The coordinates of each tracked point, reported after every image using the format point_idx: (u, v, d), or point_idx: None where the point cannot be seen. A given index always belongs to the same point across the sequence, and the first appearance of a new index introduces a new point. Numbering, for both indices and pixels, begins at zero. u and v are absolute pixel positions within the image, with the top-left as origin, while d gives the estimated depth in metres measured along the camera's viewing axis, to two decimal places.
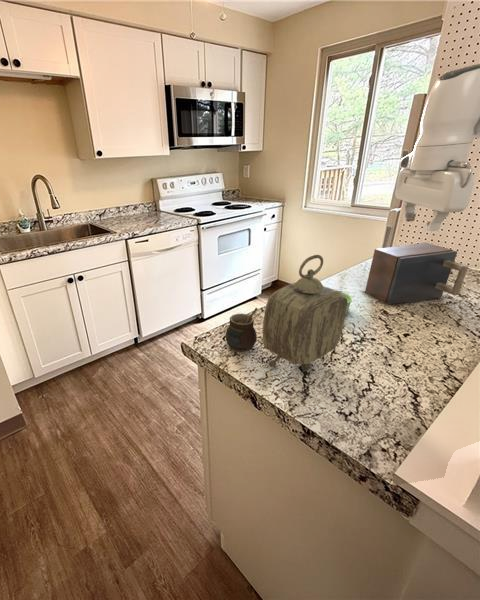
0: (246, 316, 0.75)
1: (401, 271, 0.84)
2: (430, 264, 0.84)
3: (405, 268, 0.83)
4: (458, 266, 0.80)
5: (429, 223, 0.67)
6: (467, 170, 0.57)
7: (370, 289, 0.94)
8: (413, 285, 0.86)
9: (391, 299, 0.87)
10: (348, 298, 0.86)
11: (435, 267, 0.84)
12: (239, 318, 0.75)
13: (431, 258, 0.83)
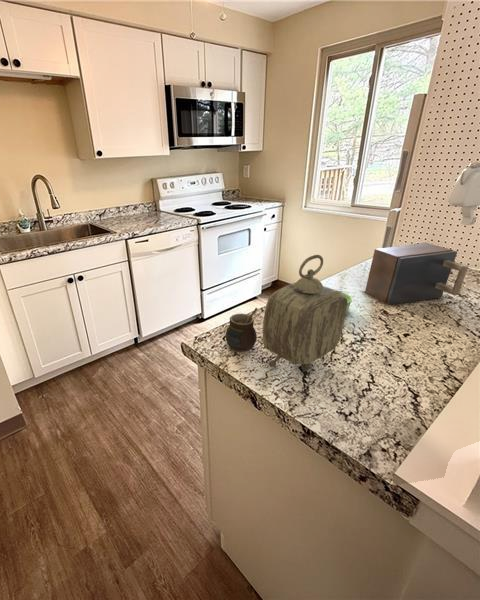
0: (246, 316, 0.75)
1: (401, 271, 0.84)
2: (430, 264, 0.84)
3: (405, 268, 0.83)
4: (458, 266, 0.80)
5: None
6: None
7: (370, 289, 0.94)
8: (413, 285, 0.86)
9: (391, 299, 0.87)
10: (348, 298, 0.86)
11: (435, 267, 0.84)
12: (239, 318, 0.75)
13: (431, 258, 0.83)
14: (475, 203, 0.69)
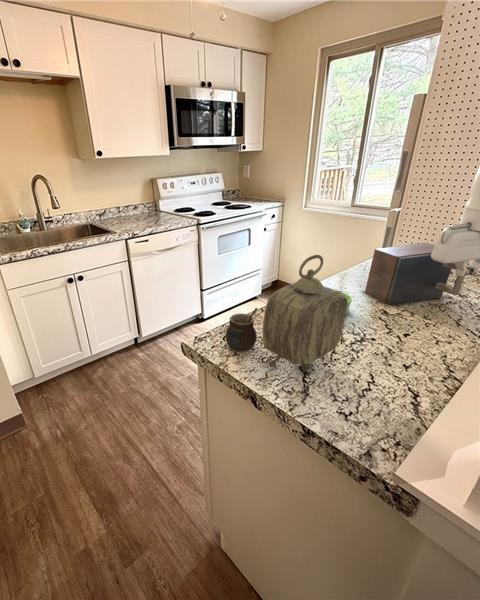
0: (246, 316, 0.75)
1: (401, 271, 0.84)
2: (430, 264, 0.84)
3: (405, 268, 0.83)
4: None
5: None
6: None
7: (370, 289, 0.94)
8: (413, 285, 0.86)
9: (391, 299, 0.87)
10: (348, 298, 0.86)
11: (435, 267, 0.84)
12: (239, 318, 0.75)
13: (431, 258, 0.83)
14: (455, 260, 0.75)
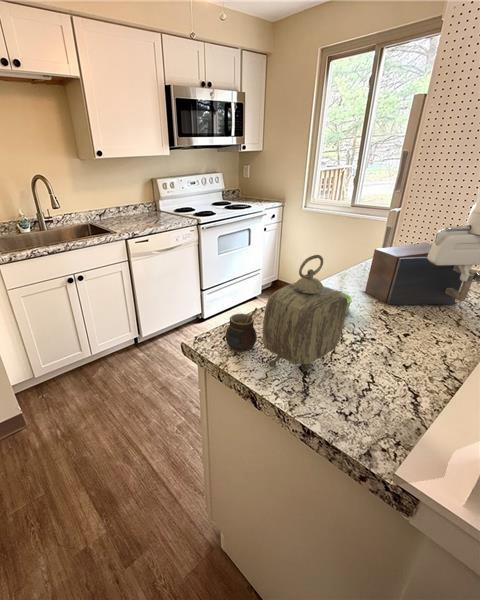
0: (246, 316, 0.75)
1: (401, 271, 0.83)
2: (437, 267, 0.82)
3: (406, 269, 0.83)
4: None
5: None
6: None
7: (370, 289, 0.94)
8: (417, 287, 0.85)
9: (391, 299, 0.87)
10: (348, 298, 0.86)
11: (443, 270, 0.82)
12: (239, 318, 0.75)
13: None
14: (450, 263, 0.74)
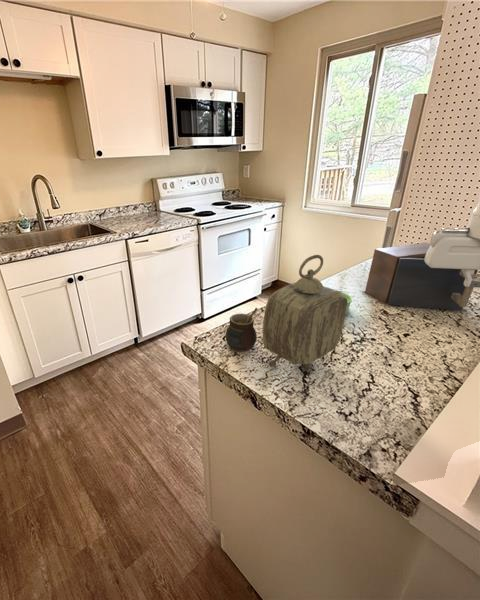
0: (246, 316, 0.75)
1: (401, 272, 0.83)
2: (442, 270, 0.80)
3: (407, 270, 0.83)
4: None
5: None
6: None
7: (370, 289, 0.94)
8: (419, 289, 0.83)
9: (390, 299, 0.87)
10: (348, 298, 0.86)
11: (448, 274, 0.79)
12: (239, 318, 0.75)
13: None
14: (445, 266, 0.72)
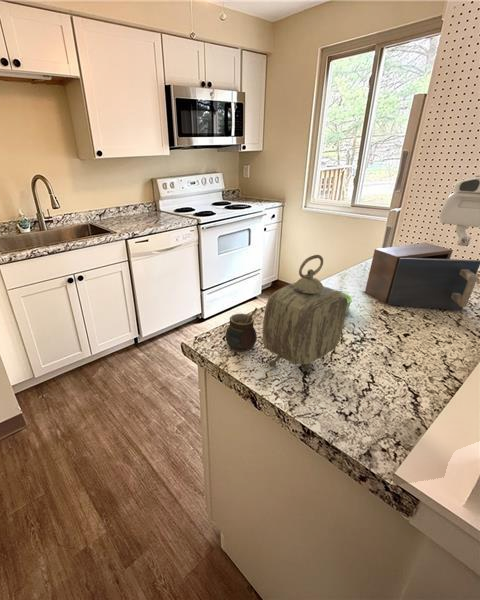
0: (246, 316, 0.75)
1: (401, 272, 0.83)
2: (442, 270, 0.80)
3: (407, 270, 0.83)
4: (467, 275, 0.75)
5: None
6: None
7: (370, 289, 0.94)
8: (419, 289, 0.83)
9: (390, 299, 0.87)
10: (348, 298, 0.86)
11: (448, 274, 0.79)
12: (239, 318, 0.75)
13: (441, 264, 0.79)
14: None
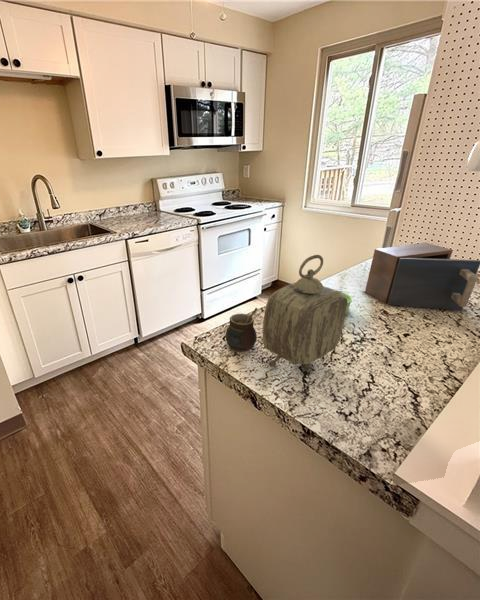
0: (246, 316, 0.75)
1: (401, 272, 0.83)
2: (442, 270, 0.80)
3: (407, 270, 0.83)
4: (467, 275, 0.75)
5: None
6: None
7: (370, 289, 0.94)
8: (419, 289, 0.83)
9: (390, 299, 0.87)
10: (348, 298, 0.86)
11: (448, 274, 0.79)
12: (239, 318, 0.75)
13: (441, 264, 0.79)
14: None
